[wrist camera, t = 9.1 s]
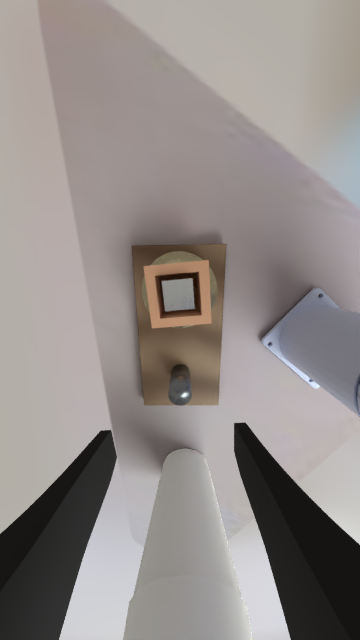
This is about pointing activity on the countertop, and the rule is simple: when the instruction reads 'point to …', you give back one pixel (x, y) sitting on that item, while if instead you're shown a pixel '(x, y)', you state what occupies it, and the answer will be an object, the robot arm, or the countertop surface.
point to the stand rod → (180, 385)
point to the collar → (184, 316)
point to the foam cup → (186, 563)
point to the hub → (180, 285)
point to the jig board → (180, 334)
